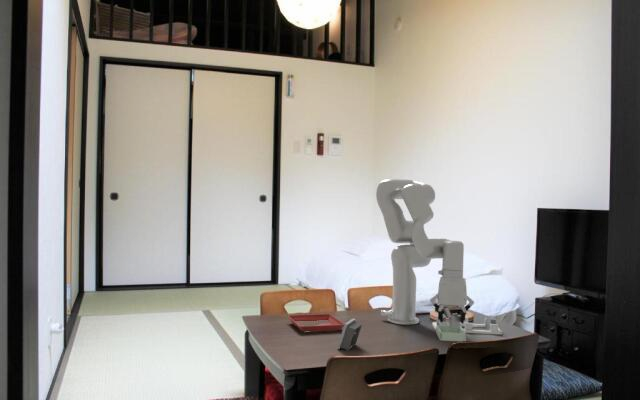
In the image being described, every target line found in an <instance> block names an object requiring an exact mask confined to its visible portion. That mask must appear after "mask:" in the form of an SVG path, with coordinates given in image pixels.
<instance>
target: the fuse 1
mask: <svg viewBox="0 0 640 400" xmlns="http://www.w3.org/2000/svg"><path fill="white" fill-rule="evenodd" d="M443 322H447V318H446V316H445V313H443ZM438 325H440V320H438Z"/></svg>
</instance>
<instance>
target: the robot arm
mask: <svg viewBox="0 0 640 400" xmlns="http://www.w3.org/2000/svg"><path fill="white" fill-rule="evenodd" d="M375 196H376V202H377V204H378V207H379V209H380V211H381V214H382V217H383V220H384V223H385V227H386V232H387V234H388V235H387V236H388V237H389V240H390V241H391V242H392V243H394V244H402V245H397V246H395V247H394V248H393V249H392V252H391V255H390V257H391V265H392V304H391V305H392V306H391V309H389V310H380V314H381V316H384V317H387V320H388V322H390V323H392V324H396V325H407V326H410V325H411V326H412V325H417V324H418V323H420V319H419V318H418V317H416V308H417V307H416V305H417V304H416V303H417V301H416V300H417V275H416V273H415V272H414V269H413V268H423V267H426V266H428V265H430V263H431V261H432V259H442V264H441V265H442V266H441V267H442V268H441V270H438V272H437V273H438V275H441V276H440V278H439V283H438V289H437V290H438V292H437V293H436V294H435V295H434V296H433V297H431V298H430V299H429V301H430V303H431V304H432V305H433V306H434V308H435V309H436V310H437V313H438V314H437V316H438V320H440V322H443V314H444V311H443V308H444V307H445V306H447V307H449V306H450V307H451V306H452V307H453V306H455V307H456V306H457V307H460V309H461V311H460V313H459V314H460V315H459V316H461V318H460V323H464V321H465V317H466V313H467V312H468V311H469V310H470V309H471V307H472V306H473V305H474V304H475V301H474V300H473V299H472V298H470V296H469V295H468V293H467V282H466V278H465V277H464V250H465V247H464V246H465V245H464V243H463V241H459V240H450V239H447V238H428V236H427V233H426V231H425V227H424V226H425V225H426V224H427V223H429V222H430V221H432V219H433V218H434V212H433V210H432V207H431V204H432V203H433V202H435V200H436V192H435V189H434V188H433V186H431V185H430V184H428V183H423V182H420V181H416V180H412V179H400V178H397V179H396V178H387V179H384V180H381V181H380V182H379V183H378V185H377V187H376V192H375ZM396 200H403V202H404V204H405V206H406V209H407V211H408V213H409V215H410V217H411V219H412V220H407V219H406V218H405V215H404V211H403V209H402V207H401V206H400V205H399V203H398V202H396ZM436 300H437V301H438V304H437V303H436ZM467 302H468V303H467Z"/></svg>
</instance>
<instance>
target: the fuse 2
mask: <svg viewBox="0 0 640 400" xmlns="http://www.w3.org/2000/svg"><path fill="white" fill-rule="evenodd" d="M486 318H487V327H486V330H488V331H490V324H497V319H496V318H495V317H494V316H493V315H486Z"/></svg>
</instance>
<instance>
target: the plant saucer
mask: <svg viewBox="0 0 640 400" xmlns="http://www.w3.org/2000/svg"><path fill="white" fill-rule="evenodd" d="M287 317H288V320H290V321H291V323H292V325H293V326H295V327H296V326H297V327H298V328H299V329H300V330H301V331H300V330H299V329H298V328H297V327H296V328H297V329H298V330H299V331H300V332H302V331H303V332H305V331H325V332H331V331H330V330H339V331H340V330H342V329H343V328H344V325H345V323H344V322H342V321H341V320H340V319H338V318H336V317H335V316H333V315H332V314H331V313H320V314H316V313H315V314H293V315H291V314H290V315H288V316H287ZM317 320H318V321H319V320H328V321H329V322H330V323H331V324H330V323H326V324H325V323H323V324H322V323H321V324H319V325H315V326H303V325H302V326H300V325H299V324H298V323H296V322H295V321H317ZM303 332H302V333H303Z"/></svg>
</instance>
